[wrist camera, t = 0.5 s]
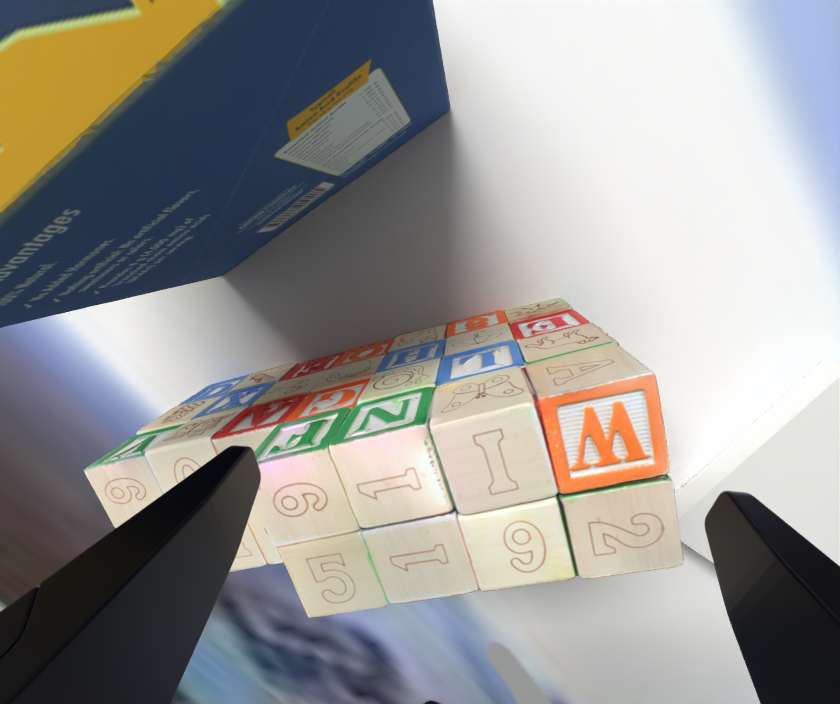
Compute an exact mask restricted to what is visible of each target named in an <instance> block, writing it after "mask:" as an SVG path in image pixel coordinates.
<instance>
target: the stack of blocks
mask: <svg viewBox="0 0 840 704" xmlns="http://www.w3.org/2000/svg"><path fill="white" fill-rule="evenodd" d="M233 445H238V446H249V447H251V448H252V449H253V450H254V453H255V456H256V459H257V463H258V466H259V469H260V473H261V481H260V486H259V489H258V492H257V495H256V498H255V501H254V504H253V507H252V510H251V513H250V516H249V519H248V522H247V525H246V528H245V531H244V534H243V537H242V540H241V543H240V546H239V549H238V552H237V555H236V557H235V560H234V562H233V564H232V567H231V569H230V571H229V572H231V571H237V570H243V569H248V568H254V567H260V566H265V565H267V564H280V563H284V564H285V566H286V568H287V570H288V572H289V575H290V577H291V579H292V582H293V584H294V586H295V588H296V591H297V593H298V596H299V598H300V601H301V603H302V605H303V608H304V610H305V612H306V614H307V616H308V617H319V616H326V615H333V614H340V613H346V612H353V611H360V610H367V609H373V608H379V607H385V606H388V605H389V604H397V603H408V602H415V601H421V600H427V599H433V598H438V597H446V596H454V595H461V594H466V593H471V592H473V591H476V590H480V591H483V592H484V591H493V590H500V589H506V588H512V587H520V586H528V585H535V584H542V583H549V582H555V581H561V580H569V579H572V578H574V577H575V576H576V575H577V576H579V577H582V578H587V579H588V578H597V577H604V576H611V575H618V574H626V573H633V572H641V571H648V570H656V569H664V568H672V567H676V566H679V565H682V564H683V561H684V559H683V553H682V546H681V539H680V532H679V524H678V517H677V509H676V501H675V492H674V485H673V481H672V479H671V478H670V477H669V476H668V475H667V474H668V473H669V455H668V449H667V442H666V435H665V429H664V422H663V416H662V409H661V403H660V397H659V391H658V385H657V381H656V377H655V373H653V372H652V371H651V370H650V369H649V368H647V367H646V366H645V365H643V364H642V363H641V362H639V361H638V360H637V359H636V358H634V357H633V356H632V355H630V354H629V353H628V352H626V351H625V350H624V349H622V348H621V347H619V344H618V342H617V341H616V340H614V339H613V338H612V337H609V336H608V334H607V333H605V332H603V331H602V330H601V329H600V328H599V327H597V326H596V325H595V324H593V323H590V322H589V321H588V320H586V319H585V318H584V317H583V316H581V315H580V314H579V313H577V312H576V311H574V310H573V309H572V307H571V306H570V305H569V304H567V303H566V302H565V301H563V300H562V299H560V298H556V299H551V300H547V301H543V302H539V303H535V304H531V305H527V306H523V307H519V308H515V309H510V310H506V311H496V312H492V313H488V314H484V315H480V316H476V317H472V318H468V319H464V320H460V321H456V322H452V323H449V324H444V325H440V326H435V327H431V328H426V329H423V330H419V331H415V332H411V333H407V334H403V335H399V336H397V337H396V338H395V339H393V340H387V341H383V342H380V343H377V344H372V345H368V346H364V347H360V348H356V349H352V350H348V351H347V352H345V353H340V354H336V355H332V356H328V357H324V358H320V359H317V360H312V361H308V362H304V363H301V364H298V363H292V364H288V365H284V366H280V367H276V368H272V369H268V370H264V371H260V372H256V373H253V374H251V375H247V376H243V377H239V378H235V379H231V380H227V381H223V382H220V383H216V384H212V385H209V386H207V387H206V388H204V389H203V390H201V391H200V392H198V393H197V394H195V395H193V396H192V397H190V398H189V399H187V400H186V401H184V402H182V403H181V404H179V405H178V406H177V407H174V408H172V409H171V410H169V411H168V412H166V413H165V414H163V415H162V416H160V417H158V418H157V419H155V420H154V421H152V422H151V423H149V424H148V425H146V426H145V427H143V428H141V429H140V430H139V431H138V432H137V435H136V436H134V437H132V438H131V439H129V440H128V441H126V442H125V443H123V444H121V445H120V446H119V447H117V448H116V449H114V450H113V451H111V452H110V453H108V454H106V455H105V456H103V457H101V458H100V459H99V460H97V461H96V462H94V463H93V464H91V465H90V466H88V467H87V468H86V469H84V472H85V474H86V476H87V478H88V480H89V481H90V483H91V485H92V487H93V488H94V490H95V492H96V494H97V496H98V497H99V499H100V501H101V503H102V505H103V506H104V508H105V510H106V512H107V514H108V516H109V518H110V520H111V521H112V523H113V525H114V527H116V528H117V527H119V526H120V525H121V524H123V523H124V522H125V521H127V520H128V519H130V518H131V517H132V516H134V515H135V514H136V513H138V512H139V511H141V510H142V509H143V508H145V507H146V506H148V505H149V504H150V503H152V502H153V501H154V500H156V499H157V498H159V497H160V496H161V495H163V494H164V493H165V492H167V491H168V490H170V489H171V488H172V487H174V486H175V485H177V484H178V483H179V482H181V481H182V480H183V479H185V478H186V477H188V476H189V475H190V474H192V473H193V472H194V471H196V470H197V469H199V468H200V467H201V466H203V465H204V464H205V463H207V462H208V461H210V460H211V459H212V458H214V457H215V456H217V455H218V454H219V453H221V452H222V451H223V450H225V449H226V448H228V447H230V446H233Z"/></svg>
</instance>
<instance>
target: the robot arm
mask: <svg viewBox="0 0 840 704" xmlns="http://www.w3.org/2000/svg"><path fill="white" fill-rule="evenodd" d="M260 481H261V473H260V469H259V466H258V463H257V459H256V456H255V453H254V450H253V449H252V448H251V447H249V446H238V445H233V446H230V447H228V448H226V449H225V450H223V451H222V452H221V453H219V454H218V455H217V456H215V457H214V458H212V459H211V460H210V461H208V462H207V463H205V464H204V465H203V466H201V467H200V468H199V469H197V470H196V471H194V472H193V473H192V474H190V475H189V476H188V477H186V478H185V479H183V480H182V481H181V482H179V483H178V484H177V485H175V486H174V487H172V488H171V489H170V490H168V491H167V492H165V493H164V494H163V495H161V496H160V497H159V498H157V499H156V500H154V501H153V502H152V503H150V504H149V505H148V506H146V507H145V508H143V509H142V510H141V511H139V512H138V513H136V514H135V515H134V516H132V517H131V518H130V519H128V520H127V521H125V522H124V523H123V524H121V525H120V526H119V527H117V528H116V529H114V530H113V531H112V532H110V533H109V534H108V535H106V536H105V537H103V538H102V539H101V540H99V541H98V542H96V543H95V544H94V545H92V546H91V547H90V548H88V549H87V550H85V551H84V552H83V553H81V554H80V555H79V556H77V557H76V558H74V559H73V560H72V561H70V562H69V563H67V564H66V565H65V566H63V567H62V568H61V569H59V570H58V571H56V572H55V573H54V574H52V575H51V576H50V577H48V578H47V579H45V580H44V581H43V582H42V583H41V584H40V586H36V587H34V588H33V589H31V590H30V591H29V592H27V593H26V594H24V595H23V596H22V597H20V598H19V599H18V600H16V601H15V602H13V603H12V604H11V605H9V606H8V607H6V608H5V609H4V610H2V611H1V612H0V704H170V703H171V701H172V698H173V696H174V694H175V692H176V689H177V687H178V685H179V683H180V681H181V678H182V676H183V674H184V672H185V669H186V667H187V665H188V663H189V660H190V658H191V656H192V654H193V652H194V649H195V647H196V645H197V643H198V640H199V638H200V636H201V634H202V632H203V629H204V627H205V625H206V623H207V620H208V618H209V616H210V614H211V611H212V609H213V607H214V605H215V603H216V600H217V598H218V596H219V594H220V591H221V589H222V587H223V585H224V582H225V580H226V578H227V576H228V574H229V571H230V569H231V567H232V564H233V562H234V560H235V557H236V555H237V552H238V549H239V546H240V543H241V540H242V537H243V534H244V531H245V528H246V525H247V522H248V519H249V516H250V513H251V510H252V507H253V504H254V501H255V498H256V495H257V492H258V489H259V486H260ZM705 532H706V535H707V539H708V543H709V547H710V551H711V554H712V558H713V562H714V566H715V570H716V574H717V577H718V581H719V585H720V589H721V593H722V596H723V600H724V604H725V607H726V610H727V614H728V617H729V620H730V622H731V625H732V628H733V631H734V634H735V636H736V639H737V642H738V644H739V647H740V650H741V652H742V655H743V658H744V660H745V663H746V666H747V668H748V671H749V674H750V676H751V679H752V682H753V684H754V687H755V690H756V692H757V695H758V698H759V700H760V703H761V704H840V566H839V565H838V564H837V563H835V562H834V561H833V560H832V559H830V558H829V557H828V556H827V555H826V554H824V553H823V552H822V551H821V550H819V549H818V548H817V547H816V546H815V545H813V544H812V543H811V542H810V541H808V540H807V539H806V538H805V537H803V536H802V535H801V534H800V533H799V532H797V531H796V530H795V529H794V528H792V527H791V526H790V525H789V524H787V523H786V522H785V521H784V520H783V519H781V518H780V517H779V516H778V515H776V514H775V513H774V512H773V511H771V510H770V509H769V508H768V507H767V506H765V505H764V504H763V503H762V502H760V501H759V500H758V499H757V498H755V497H754V496H753V495H751V494H749V493H746V492H738V491H723V492H721V493H720V494H719V496H718V497H717V499H716V501H715V502H714V504H713V505H712V507H711V509H710V510H709V512H708V513H707V515H706V518H705ZM425 704H436V703H434V702H430V701H429V702H426V703H425Z"/></svg>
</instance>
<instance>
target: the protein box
mask: <svg viewBox="0 0 840 704" xmlns="http://www.w3.org/2000/svg"><path fill="white" fill-rule="evenodd" d="M449 109H450V102H449V96H448V89H447V85H446V79H445V73H444V67H443V61H442V55H441V48H440V43H439V37H438V30H437V25H436V19H435V12H434V6H433V0H0V328H1V327H5V326H9V325H13V324H17V323H22V322H26V321H30V320H35V319H39V318H43V317H47V316H52V315H56V314H61V313H65V312H69V311H73V310H77V309H82V308H86V307H90V306H94V305H99V304H103V303H108V302H113V301H117V300H121V299H125V298H129V297H134V296H138V295H142V294H146V293H150V292H155V291H159V290H163V289H168V288H172V287H177V286H181V285H185V284H190V283H194V282H198V281H203V280H207V279H211V278H215V277H219V276H223V275H224V274H226V273H227V272H228V271H230V270H231V269H233V268H234V267H235V266H237V265H238V264H239V263H241V262H242V261H243V260H245V259H246V258H247V257H249V256H250V255H251V254H253V253H254V252H255V251H257V250H258V249H259V248H261V247H262V246H264V245H265V244H266V243H268V242H269V241H270V240H272V239H273V238H274V237H276V236H277V235H278V234H280V233H281V232H283V231H284V230H285V229H287V228H288V227H289V226H291V225H292V224H294V223H295V222H296V221H298V220H299V219H300V218H302V217H303V216H304V215H306V214H307V213H309V212H310V211H311V210H313V209H314V208H315V207H317V206H318V205H320V204H321V203H322V202H324V201H325V200H327V199H328V198H329V197H331V196H332V195H334V194H335V193H336V192H338V191H339V190H341V189H342V188H343V187H345V186H346V185H348V184H349V183H350V182H352V181H353V180H355V179H356V178H357V177H359V176H360V175H362V174H363V173H364V172H366V171H367V170H369V169H370V168H371V167H373V166H374V165H376V164H377V163H378V162H380V161H381V160H383V159H384V158H385V157H387V156H388V155H389V154H391V153H392V152H394V151H395V150H396V149H398V148H399V147H400V146H402V145H403V144H404V143H406V142H407V141H409V140H410V139H411V138H413V137H414V136H415V135H417V134H418V133H420V132H421V131H422V130H424V129H425V128H426V127H428V126H429V125H430V124H432V123H433V122H434V121H436V120H437V119H438V118H440V117H441V116H442V115H444V114H445V113H446V112H447V111H448V110H449Z"/></svg>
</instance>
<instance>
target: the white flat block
mask: <svg viewBox="0 0 840 704" xmlns="http://www.w3.org/2000/svg"><path fill="white" fill-rule="evenodd" d="M723 491H738V492H746V493H749V494H751V495H753V496H754V497H755V498H757V499H758V500H759V501H760V502H762V503H763V504H764V505H765V506H767V507H768V508H769V509H770V510H771V511H773V512H774V513H775V514H776V515H778V516H779V517H780V518H781V519H783V520H784V521H785V522H786V523H787V524H789V525H790V526H791V527H792V528H794V529H795V530H796V531H797V532H799V533H800V534H801V535H802V536H803V537H805V538H806V539H807V540H808V541H810V542H811V543H812V544H813V545H815V546H816V547H817V548H818V549H819V550H821V551H822V552H823V553H824V554H826V555H827V556H828V557H829V558H830V559H832V560H833V561H834V562H835V563H837V564H838V565H839V566H840V362H838V361H835V360H832V359H830V358H827V357H825V358H824V359H823V360H822V361H821V362H820V363H819V364H818V365H817V366H815V367H814V368H813V369H812V370H811V371H810V372H809V373H808V374H807V375H806V376H804V377H803V378H802V379H801V380H800V381H799V382H798V383H797V384H796V385H795V386H793V387H792V388H791V389H790V390H789V391H788V392H787V393H786V394H785V395H784V396H782V397H781V398H780V399H779V400H778V401H777V402H776V403H775V404H774V405H773V406H771V407H770V408H769V409H768V410H767V411H766V412H765V413H764V414H763V415H762V416H760V417H759V418H758V419H757V420H756V421H755V422H754V423H753V424H752V425H751V426H749V427H748V428H747V429H746V430H745V431H744V432H743V433H742V434H741V435H740V436H738V437H737V438H736V439H735V440H734V441H733V442H732V443H731V444H730V445H729V446H727V447H726V448H725V449H724V450H723V451H722V452H721V453H720V454H719V455H718V456H716V457H715V458H714V459H713V460H712V461H711V462H710V463H709V464H708V465H707V466H705V467H704V468H703V469H702V470H701V471H700V472H699V473H698V474H697V475H696V476H694V477H693V478H692V479H691V480H690V481H689V482H688V483H687V484H686V485H685V486H683V487H682V488H681V489H680V490H679V491H678V492H677V493H676V494H675V501H676V509H677V517H678V524H679V532H680V539H681V542H683V543H684V544H686V545H687V546H689V547H690V548H692V549H693V550H695V551H696V552H698V553H699V554H700V555H702V556H703V557H705V558H706V559H708V560H709V561H711V562H712V563H714V562H713V558H712V554H711V551H710V547H709V543H708V539H707V535H706V532H705V518H706V515H707V513H708V512H709V510H710V509H711V507H712V505H713V504H714V502H715V501H716V499H717V497H718V496H719V494H720V493H721V492H723Z"/></svg>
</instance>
